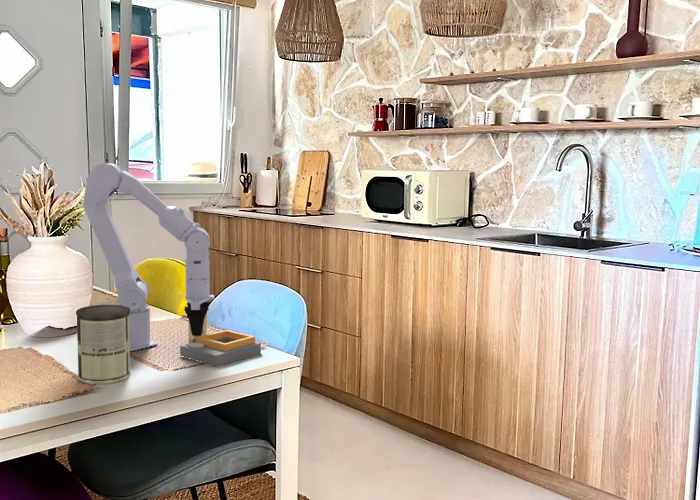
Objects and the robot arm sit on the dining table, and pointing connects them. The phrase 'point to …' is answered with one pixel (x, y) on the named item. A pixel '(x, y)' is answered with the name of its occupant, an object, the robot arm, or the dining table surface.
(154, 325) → the dining table surface
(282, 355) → the dining table surface
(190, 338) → the spout can
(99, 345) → the coffee can
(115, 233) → the robot arm
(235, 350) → the grey base with frame
